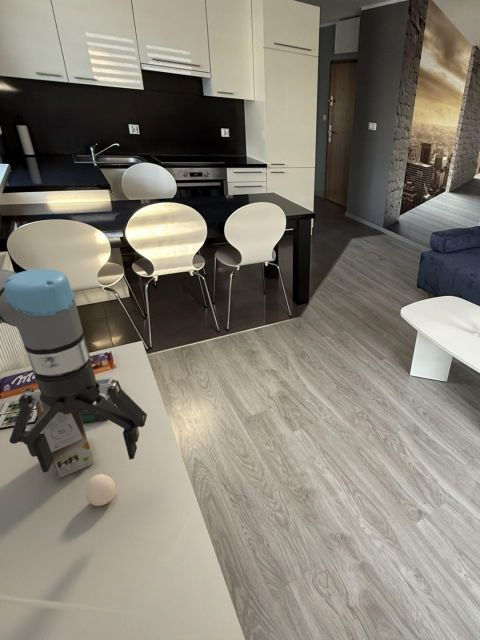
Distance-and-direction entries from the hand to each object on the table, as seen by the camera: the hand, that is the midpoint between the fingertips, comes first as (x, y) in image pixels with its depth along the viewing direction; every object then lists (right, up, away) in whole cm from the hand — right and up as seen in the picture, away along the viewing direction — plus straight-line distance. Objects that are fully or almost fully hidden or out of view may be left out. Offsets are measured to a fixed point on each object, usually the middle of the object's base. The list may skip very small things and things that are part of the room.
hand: (92, 459), depth 73 cm
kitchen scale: (-21, +2, +27) cm, 34 cm away
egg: (-1, -10, +5) cm, 12 cm away
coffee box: (-13, -5, +14) cm, 20 cm away
